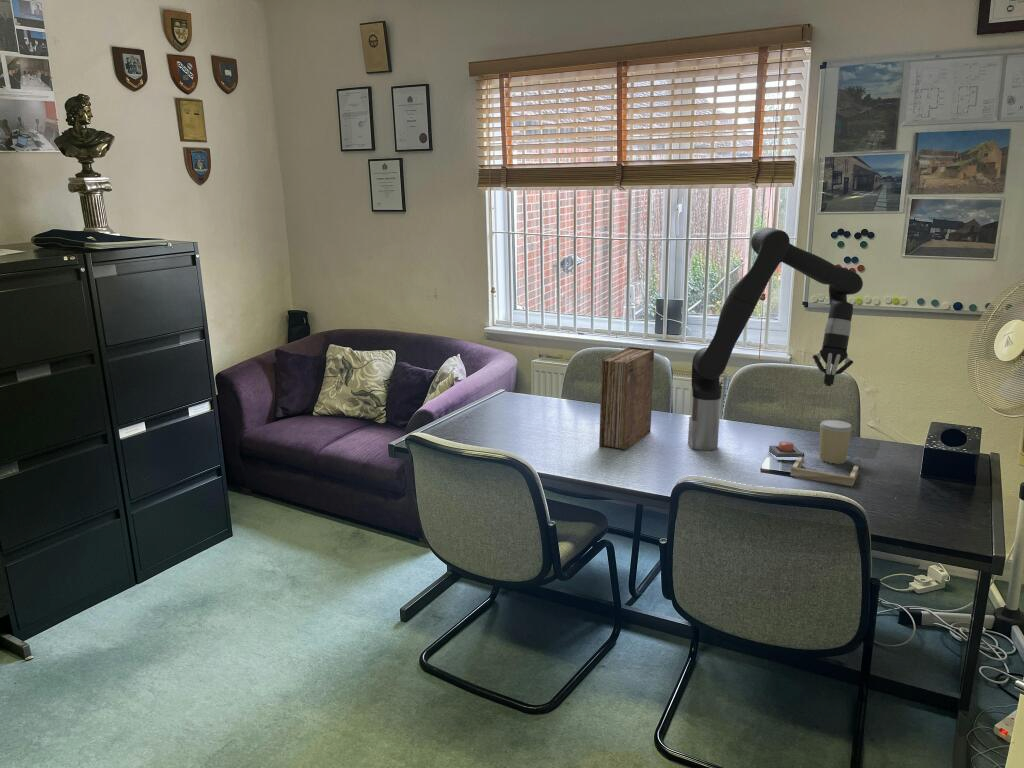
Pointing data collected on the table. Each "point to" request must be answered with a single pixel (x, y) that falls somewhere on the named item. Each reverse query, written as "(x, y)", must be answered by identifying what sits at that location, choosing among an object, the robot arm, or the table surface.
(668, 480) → the table surface
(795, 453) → the button box
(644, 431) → the brown plywood block
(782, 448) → the button
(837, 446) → the coffee cup
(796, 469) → the holder
